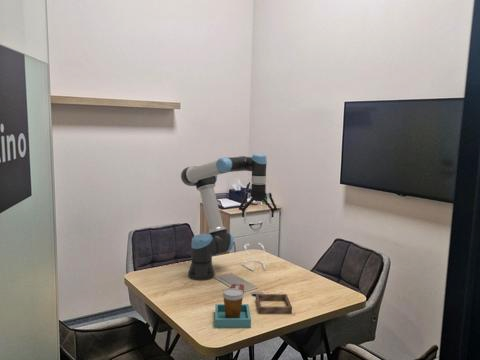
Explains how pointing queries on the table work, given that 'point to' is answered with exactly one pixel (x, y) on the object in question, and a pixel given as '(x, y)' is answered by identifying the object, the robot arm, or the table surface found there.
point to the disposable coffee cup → (232, 302)
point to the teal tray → (232, 322)
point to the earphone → (254, 260)
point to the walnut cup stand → (273, 309)
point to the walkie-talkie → (238, 287)
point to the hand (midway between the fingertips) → (257, 223)
